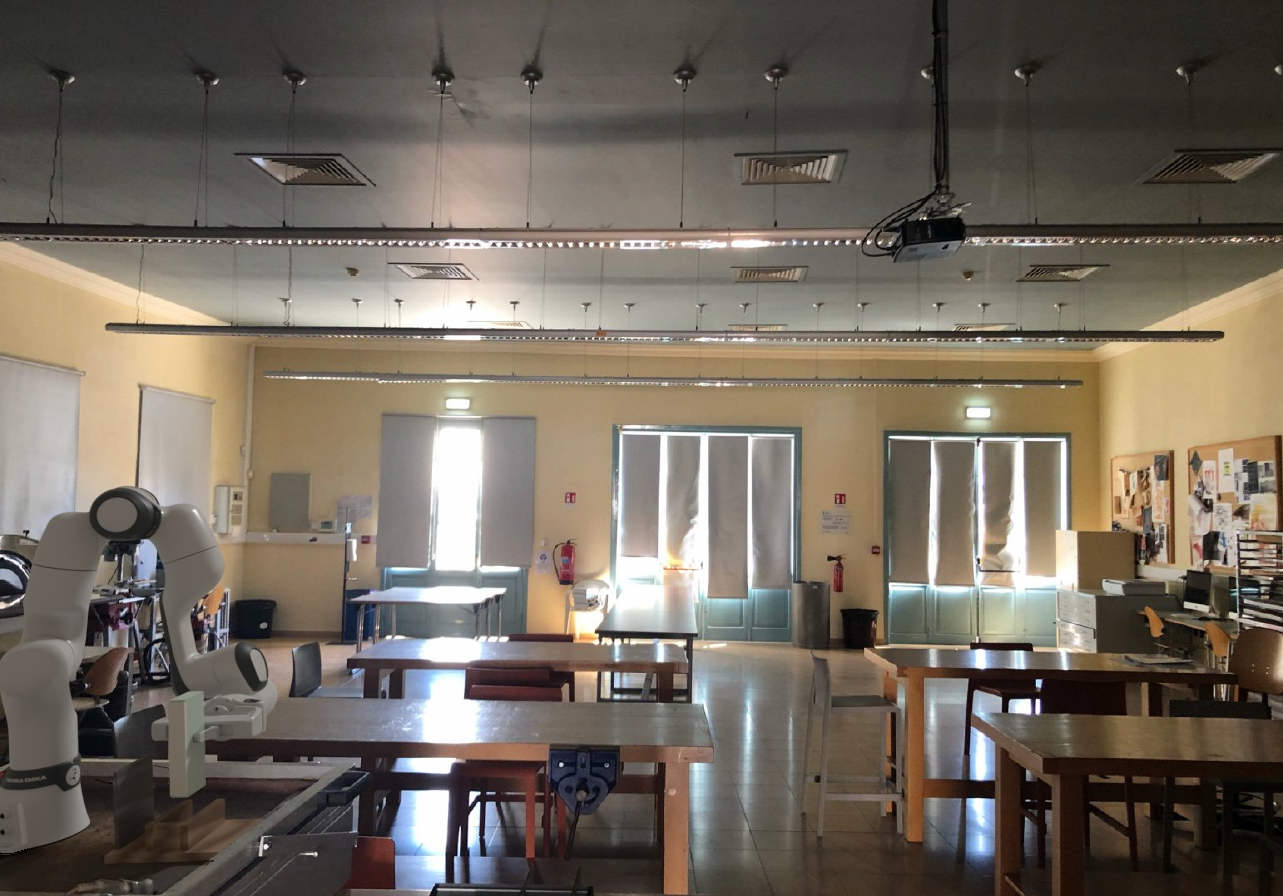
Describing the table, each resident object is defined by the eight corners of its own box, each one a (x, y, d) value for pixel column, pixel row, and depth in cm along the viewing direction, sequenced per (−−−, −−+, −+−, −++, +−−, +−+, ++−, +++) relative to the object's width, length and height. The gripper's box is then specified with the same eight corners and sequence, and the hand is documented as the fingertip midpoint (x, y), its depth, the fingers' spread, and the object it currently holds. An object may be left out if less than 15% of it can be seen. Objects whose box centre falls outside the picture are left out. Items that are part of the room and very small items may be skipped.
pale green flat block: (170, 798, 151) (167, 700, 152) (190, 785, 158) (188, 691, 158) (186, 798, 151) (184, 700, 152) (206, 784, 157) (203, 691, 158)
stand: (104, 863, 147) (101, 776, 147) (154, 829, 161) (151, 750, 161) (223, 860, 146) (220, 772, 146) (263, 826, 160) (260, 746, 160)
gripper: (175, 702, 168) (131, 723, 154) (272, 700, 167) (236, 720, 154) (176, 733, 168) (131, 757, 154) (273, 731, 167) (237, 754, 153)
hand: (184, 738), depth 154 cm, fingers closed on pale green flat block, 3 cm apart
